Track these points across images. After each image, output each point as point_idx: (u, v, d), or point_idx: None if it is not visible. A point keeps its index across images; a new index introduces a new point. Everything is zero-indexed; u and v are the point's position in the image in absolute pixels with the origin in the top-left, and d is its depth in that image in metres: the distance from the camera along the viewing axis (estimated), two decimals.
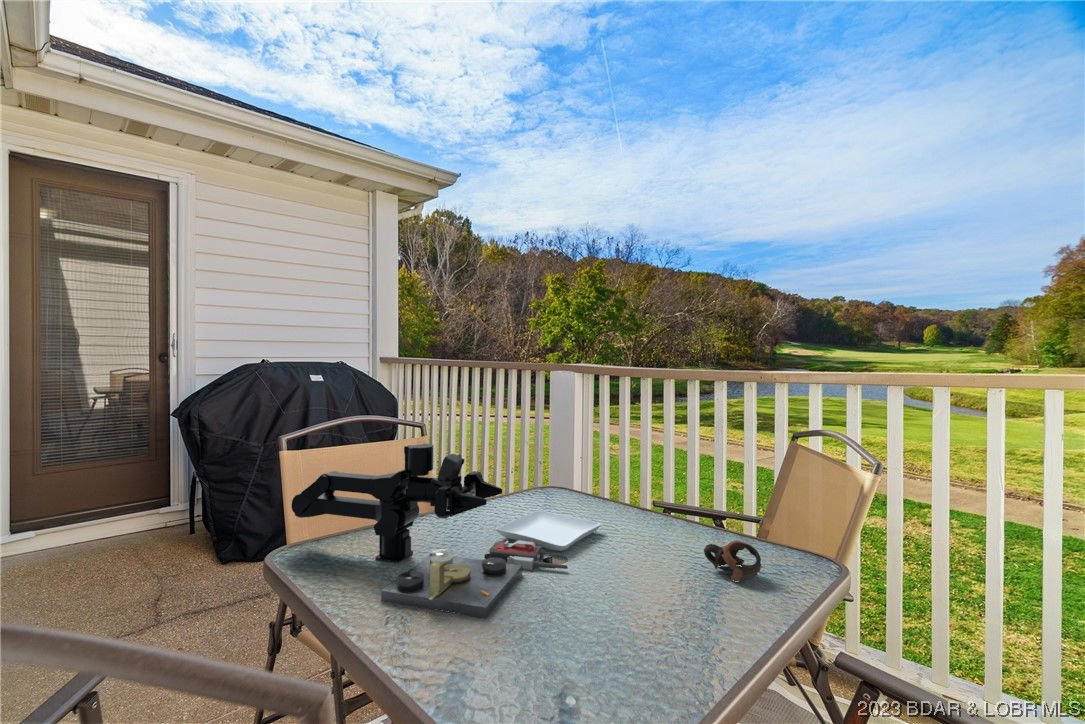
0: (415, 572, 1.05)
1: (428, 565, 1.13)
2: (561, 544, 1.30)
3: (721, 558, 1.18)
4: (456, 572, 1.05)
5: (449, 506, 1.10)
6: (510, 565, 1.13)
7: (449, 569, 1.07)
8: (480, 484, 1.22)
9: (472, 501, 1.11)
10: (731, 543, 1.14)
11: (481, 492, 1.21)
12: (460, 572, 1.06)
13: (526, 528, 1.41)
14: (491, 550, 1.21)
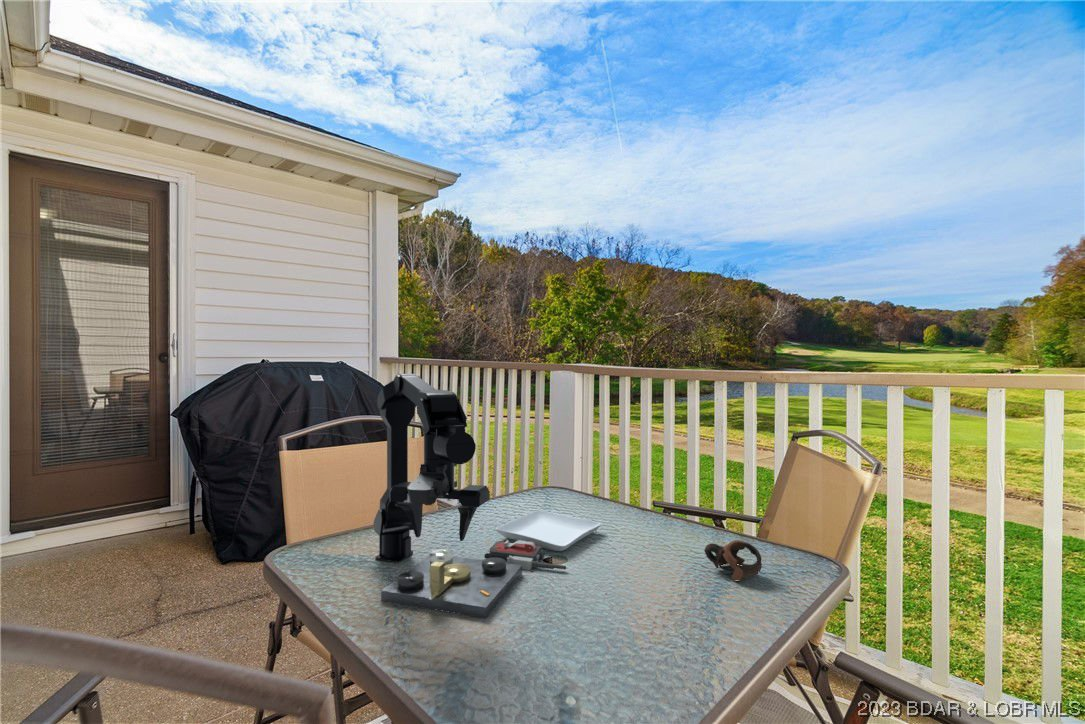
0: (415, 572, 1.05)
1: (428, 565, 1.13)
2: (561, 544, 1.30)
3: (722, 557, 1.18)
4: (456, 572, 1.05)
5: None
6: (510, 565, 1.13)
7: (449, 569, 1.07)
8: None
9: None
10: (732, 542, 1.15)
11: None
12: (460, 572, 1.06)
13: (526, 528, 1.41)
14: (491, 550, 1.21)
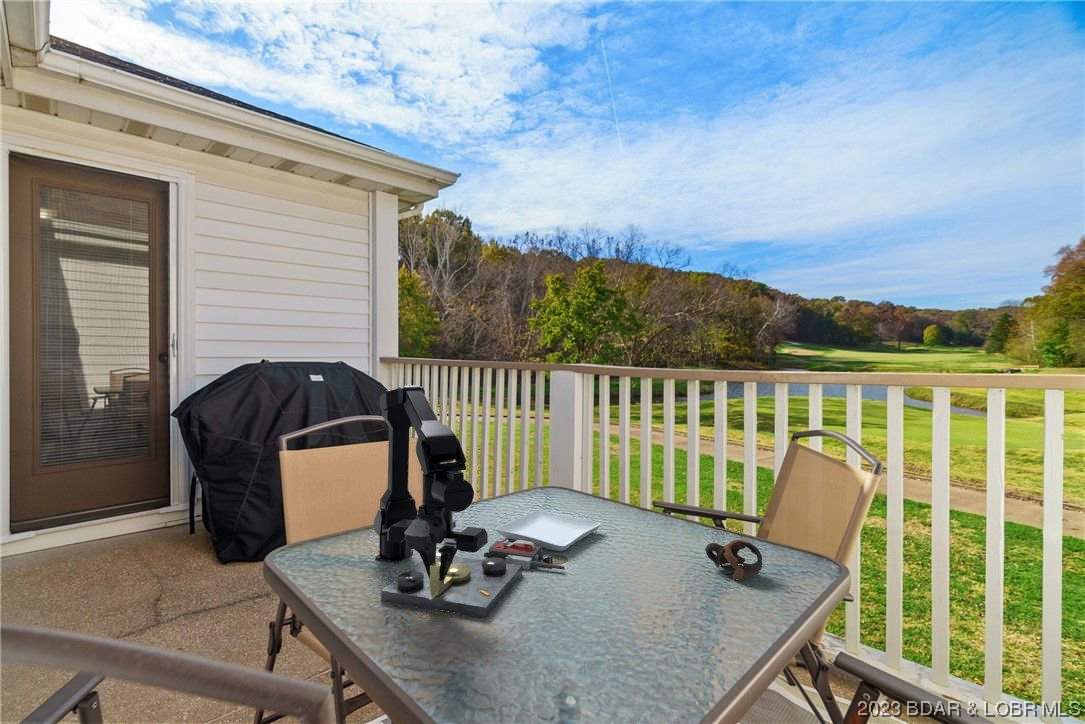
0: (415, 572, 1.05)
1: None
2: (561, 544, 1.30)
3: (722, 557, 1.18)
4: (456, 572, 1.05)
5: None
6: (510, 565, 1.13)
7: (449, 569, 1.07)
8: None
9: None
10: (732, 542, 1.15)
11: None
12: (460, 572, 1.06)
13: (526, 528, 1.41)
14: (490, 549, 1.22)
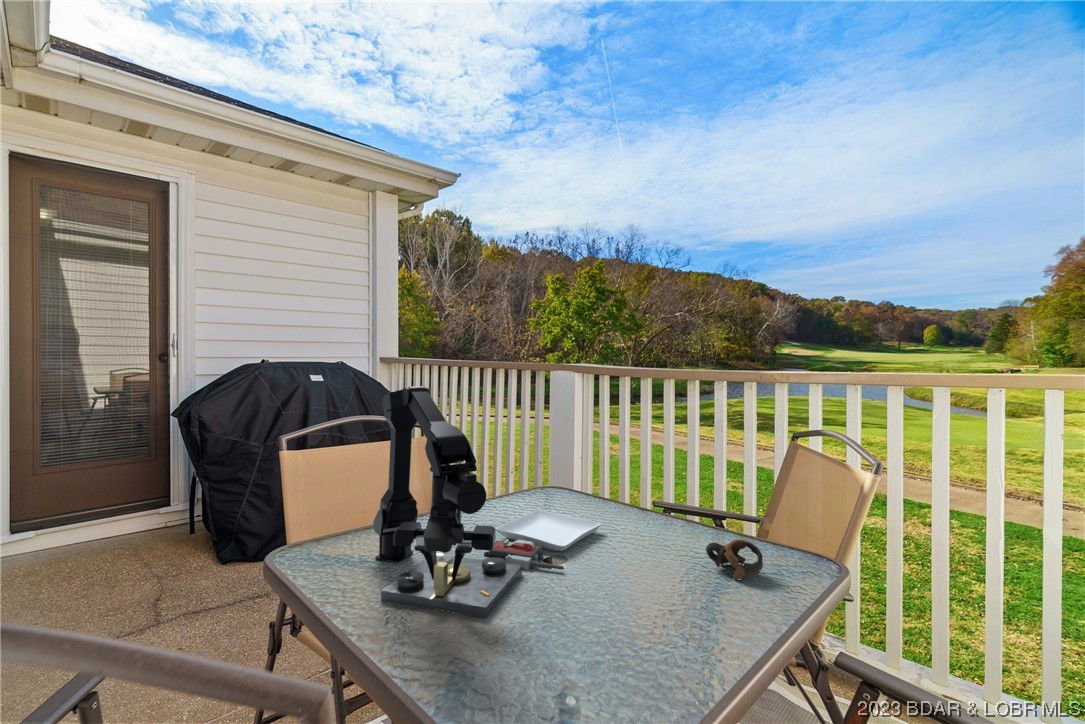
0: (415, 572, 1.05)
1: None
2: (561, 544, 1.30)
3: (723, 556, 1.19)
4: None
5: None
6: (510, 565, 1.13)
7: (449, 569, 1.07)
8: None
9: None
10: (733, 541, 1.15)
11: None
12: (460, 571, 1.06)
13: (526, 528, 1.41)
14: None
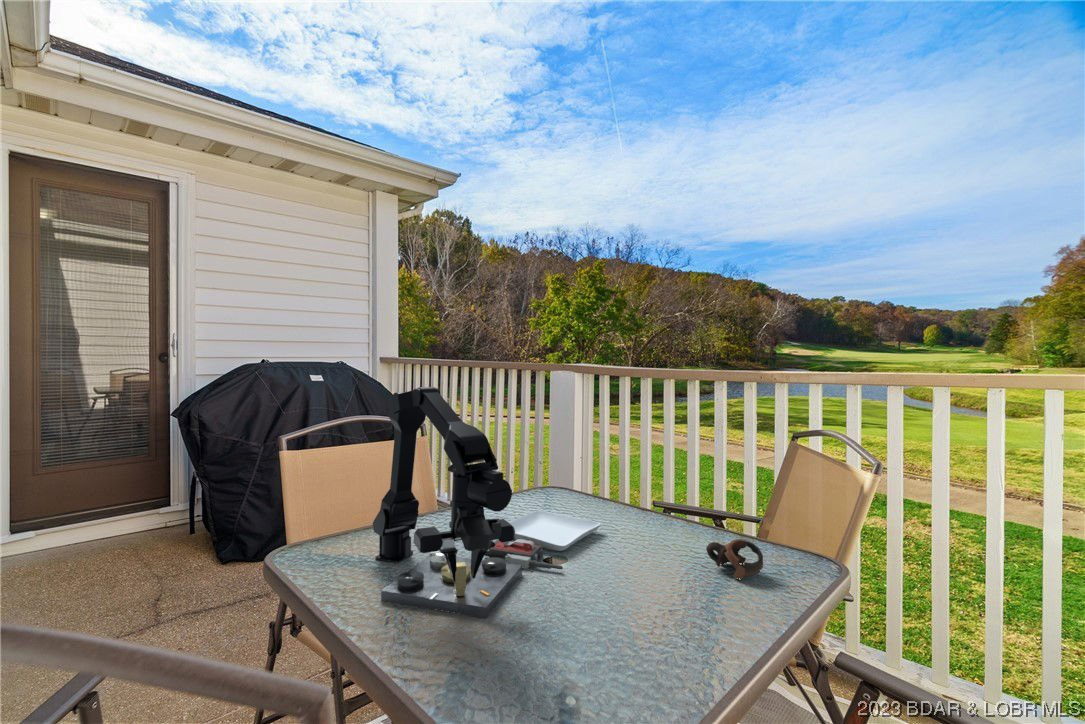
0: (415, 572, 1.05)
1: (428, 565, 1.13)
2: (561, 544, 1.30)
3: (723, 556, 1.19)
4: None
5: None
6: (510, 565, 1.13)
7: None
8: (477, 550, 1.00)
9: (449, 567, 0.98)
10: (733, 541, 1.16)
11: None
12: None
13: (526, 528, 1.41)
14: None
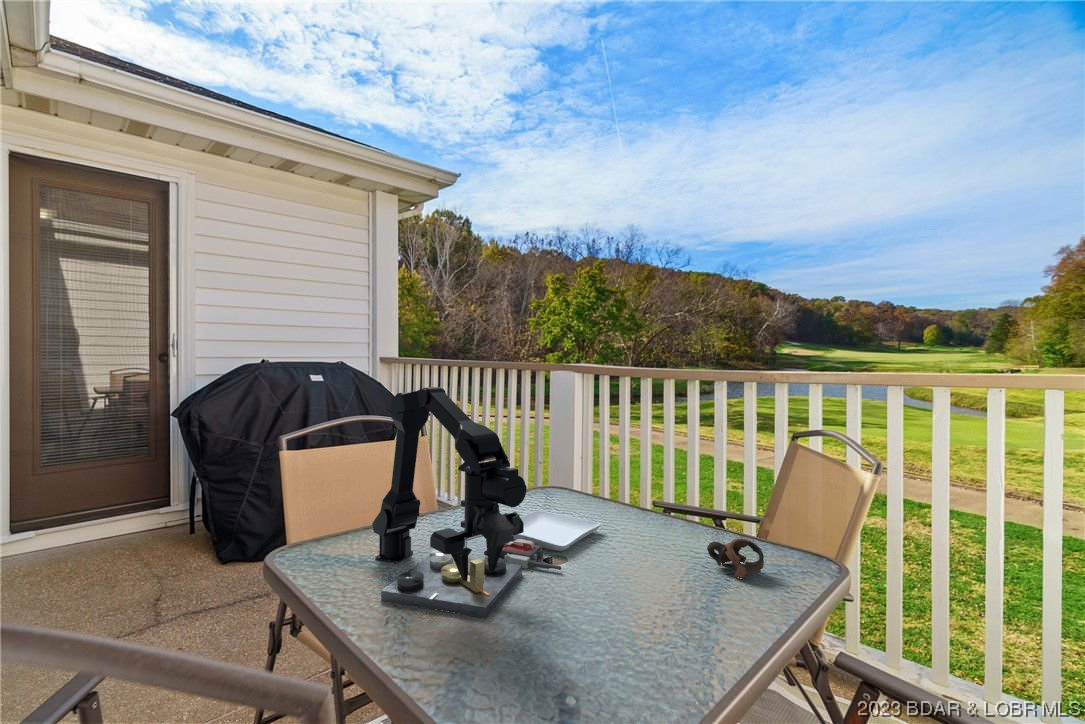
0: (415, 572, 1.05)
1: (428, 565, 1.13)
2: (561, 544, 1.30)
3: (724, 555, 1.19)
4: None
5: None
6: (510, 565, 1.13)
7: (452, 571, 1.06)
8: None
9: (460, 568, 0.98)
10: (734, 540, 1.16)
11: None
12: None
13: (526, 528, 1.41)
14: None
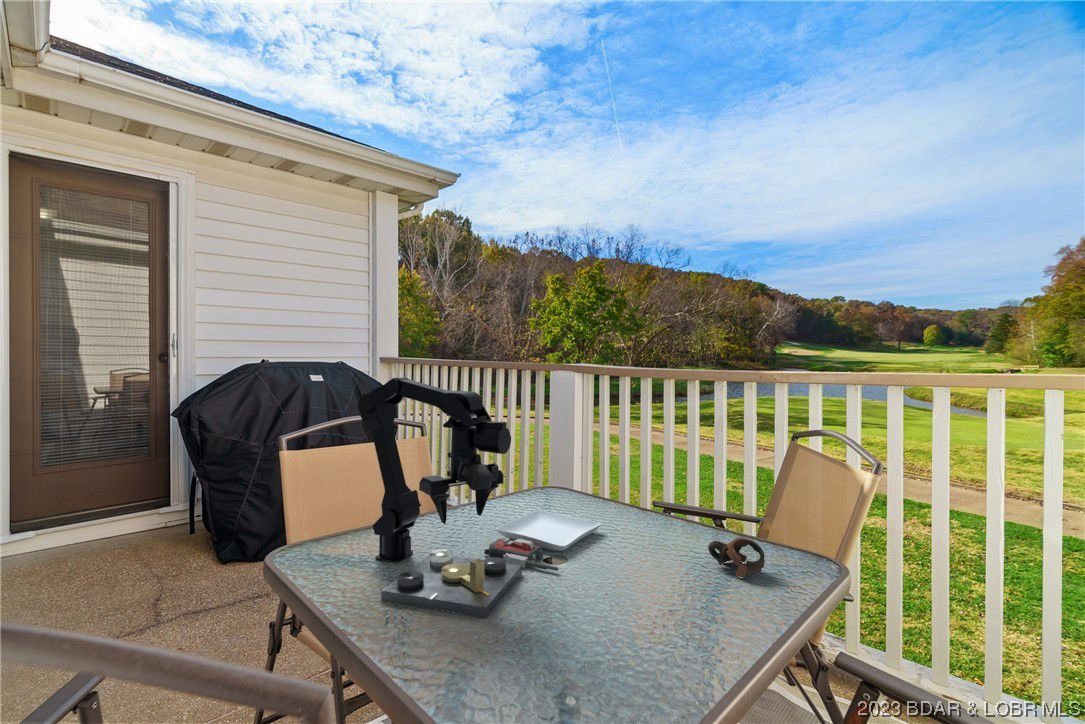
0: (415, 572, 1.05)
1: (428, 565, 1.13)
2: (561, 544, 1.30)
3: (725, 555, 1.20)
4: (463, 570, 1.06)
5: None
6: (510, 565, 1.13)
7: (452, 571, 1.06)
8: (483, 491, 1.17)
9: (440, 511, 1.11)
10: (735, 540, 1.16)
11: (479, 491, 1.19)
12: (465, 568, 1.07)
13: (526, 528, 1.41)
14: (490, 546, 1.24)
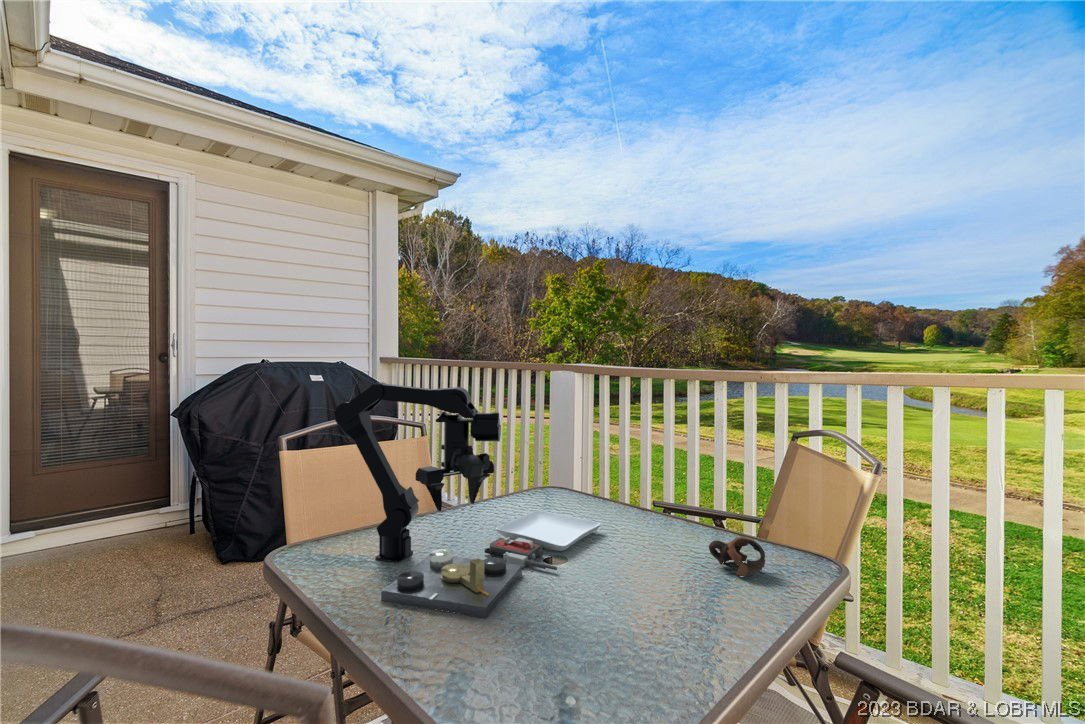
0: (415, 572, 1.05)
1: (428, 565, 1.13)
2: (561, 544, 1.30)
3: (725, 554, 1.20)
4: (463, 570, 1.06)
5: None
6: (510, 565, 1.13)
7: (452, 571, 1.06)
8: (476, 480, 1.25)
9: (435, 499, 1.18)
10: (736, 539, 1.17)
11: (471, 480, 1.26)
12: (465, 568, 1.07)
13: (526, 528, 1.41)
14: (491, 545, 1.24)
